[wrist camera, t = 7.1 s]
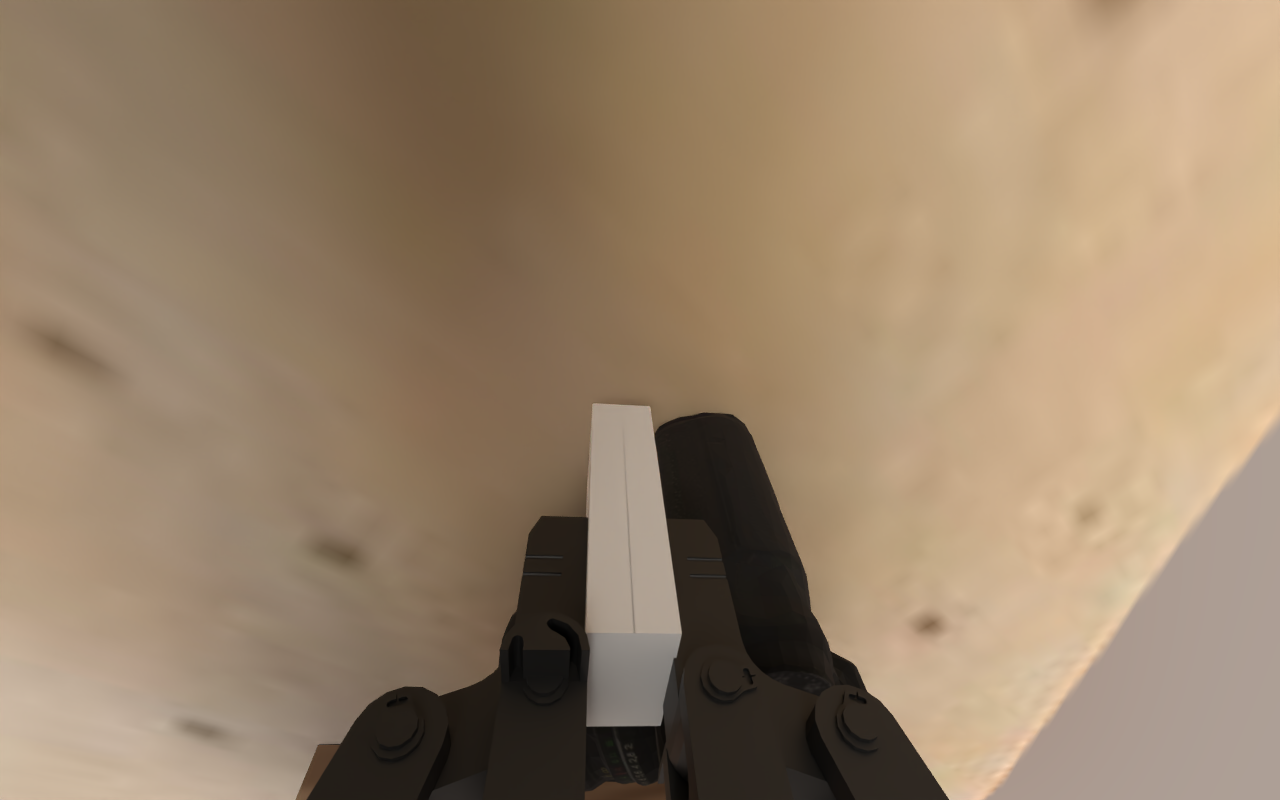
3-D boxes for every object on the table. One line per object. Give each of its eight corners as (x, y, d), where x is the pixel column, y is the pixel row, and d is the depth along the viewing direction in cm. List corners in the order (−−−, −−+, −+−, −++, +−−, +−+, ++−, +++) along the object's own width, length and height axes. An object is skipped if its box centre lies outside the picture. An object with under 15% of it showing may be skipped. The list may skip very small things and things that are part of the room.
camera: (458, 459, 18) (334, 808, 10) (771, 390, 17) (933, 702, 9) (575, 682, 26) (562, 989, 17) (798, 640, 25) (899, 939, 16)
